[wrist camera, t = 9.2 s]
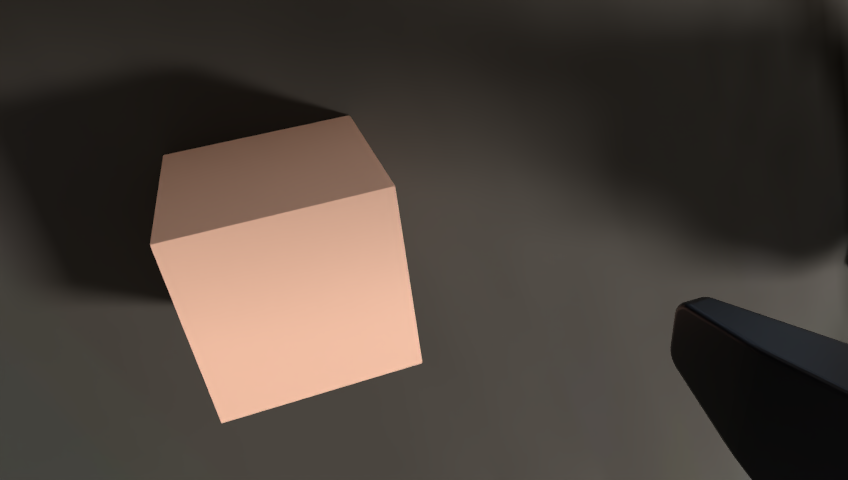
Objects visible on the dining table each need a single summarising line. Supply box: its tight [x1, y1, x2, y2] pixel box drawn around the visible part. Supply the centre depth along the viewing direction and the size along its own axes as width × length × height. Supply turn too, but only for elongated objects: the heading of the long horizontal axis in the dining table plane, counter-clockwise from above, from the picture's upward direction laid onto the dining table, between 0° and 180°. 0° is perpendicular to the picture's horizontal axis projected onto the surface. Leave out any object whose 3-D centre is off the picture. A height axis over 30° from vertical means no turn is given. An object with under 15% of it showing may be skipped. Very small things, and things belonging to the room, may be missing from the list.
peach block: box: [150, 115, 422, 423], centre depth 16 cm, size 5×5×5 cm
